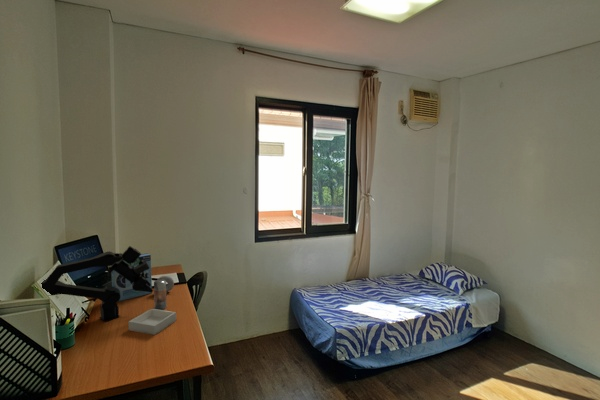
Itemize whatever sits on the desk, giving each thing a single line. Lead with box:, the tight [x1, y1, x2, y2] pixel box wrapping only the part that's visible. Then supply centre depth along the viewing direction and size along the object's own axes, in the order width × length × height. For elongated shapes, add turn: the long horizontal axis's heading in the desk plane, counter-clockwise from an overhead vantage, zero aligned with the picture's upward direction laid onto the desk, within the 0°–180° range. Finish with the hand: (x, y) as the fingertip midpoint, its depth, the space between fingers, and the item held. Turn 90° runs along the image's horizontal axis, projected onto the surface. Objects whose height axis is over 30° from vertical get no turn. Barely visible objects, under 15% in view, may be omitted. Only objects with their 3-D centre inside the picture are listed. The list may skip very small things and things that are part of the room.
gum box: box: [110, 253, 153, 302], centre depth 175 cm, size 20×5×23 cm, turn 134°
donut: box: [156, 275, 175, 293], centre depth 182 cm, size 10×4×10 cm, turn 113°
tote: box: [127, 308, 177, 336], centre depth 143 cm, size 14×14×4 cm
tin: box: [153, 280, 167, 310], centre depth 161 cm, size 6×6×14 cm
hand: (151, 288), depth 158 cm, fingers open, 9 cm apart
